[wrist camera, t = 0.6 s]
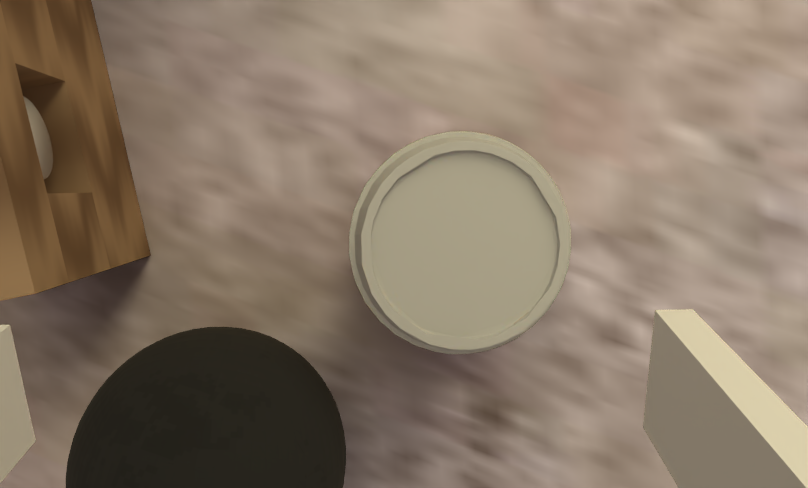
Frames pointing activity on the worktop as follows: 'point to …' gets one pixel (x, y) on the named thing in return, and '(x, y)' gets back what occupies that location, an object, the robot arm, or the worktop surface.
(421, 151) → the disposable coffee cup
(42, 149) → the knob
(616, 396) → the worktop surface
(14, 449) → the robot arm
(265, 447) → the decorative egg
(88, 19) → the mount
